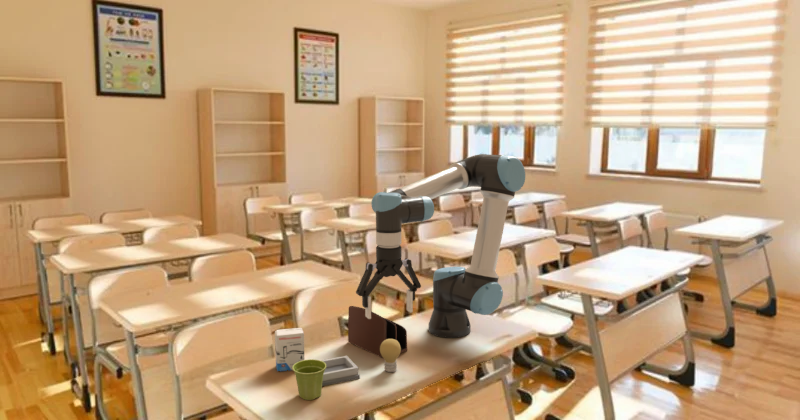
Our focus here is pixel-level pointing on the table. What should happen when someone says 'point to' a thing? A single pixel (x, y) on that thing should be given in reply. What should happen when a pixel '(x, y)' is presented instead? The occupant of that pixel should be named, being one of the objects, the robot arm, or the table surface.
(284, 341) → the ink box
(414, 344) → the table surface
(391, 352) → the light bulb
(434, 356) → the table surface
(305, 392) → the plant pot
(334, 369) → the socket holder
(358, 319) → the letter holder
